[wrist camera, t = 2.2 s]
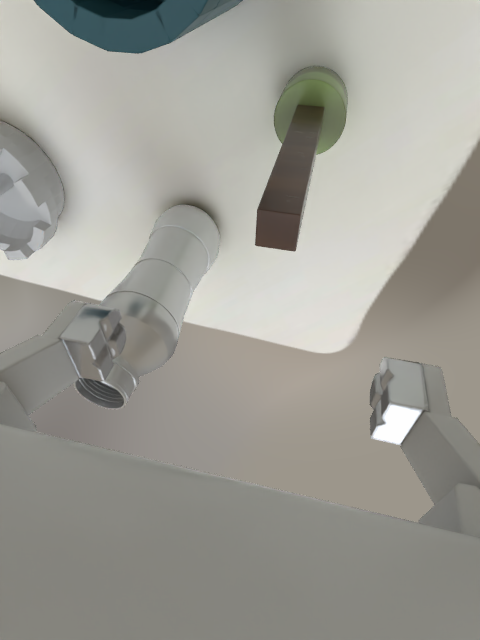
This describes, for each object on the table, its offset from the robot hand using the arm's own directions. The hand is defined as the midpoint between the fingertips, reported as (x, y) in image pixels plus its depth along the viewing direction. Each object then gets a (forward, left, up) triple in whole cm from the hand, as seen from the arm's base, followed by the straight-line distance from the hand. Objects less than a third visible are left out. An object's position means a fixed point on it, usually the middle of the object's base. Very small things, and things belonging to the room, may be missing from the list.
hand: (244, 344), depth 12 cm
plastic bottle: (+12, -10, -24) cm, 29 cm away
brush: (0, 0, -24) cm, 24 cm away
